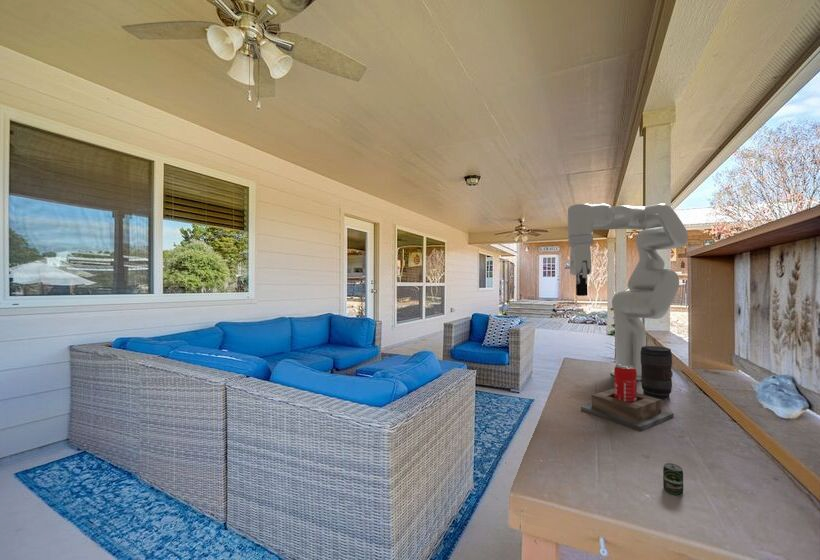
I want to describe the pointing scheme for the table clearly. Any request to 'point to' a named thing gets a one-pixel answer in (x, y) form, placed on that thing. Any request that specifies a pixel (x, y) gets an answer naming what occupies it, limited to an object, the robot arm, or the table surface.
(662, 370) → the camera lens
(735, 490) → the table surface
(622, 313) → the robot arm
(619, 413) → the can holder
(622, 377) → the beverage can
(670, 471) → the beer can
